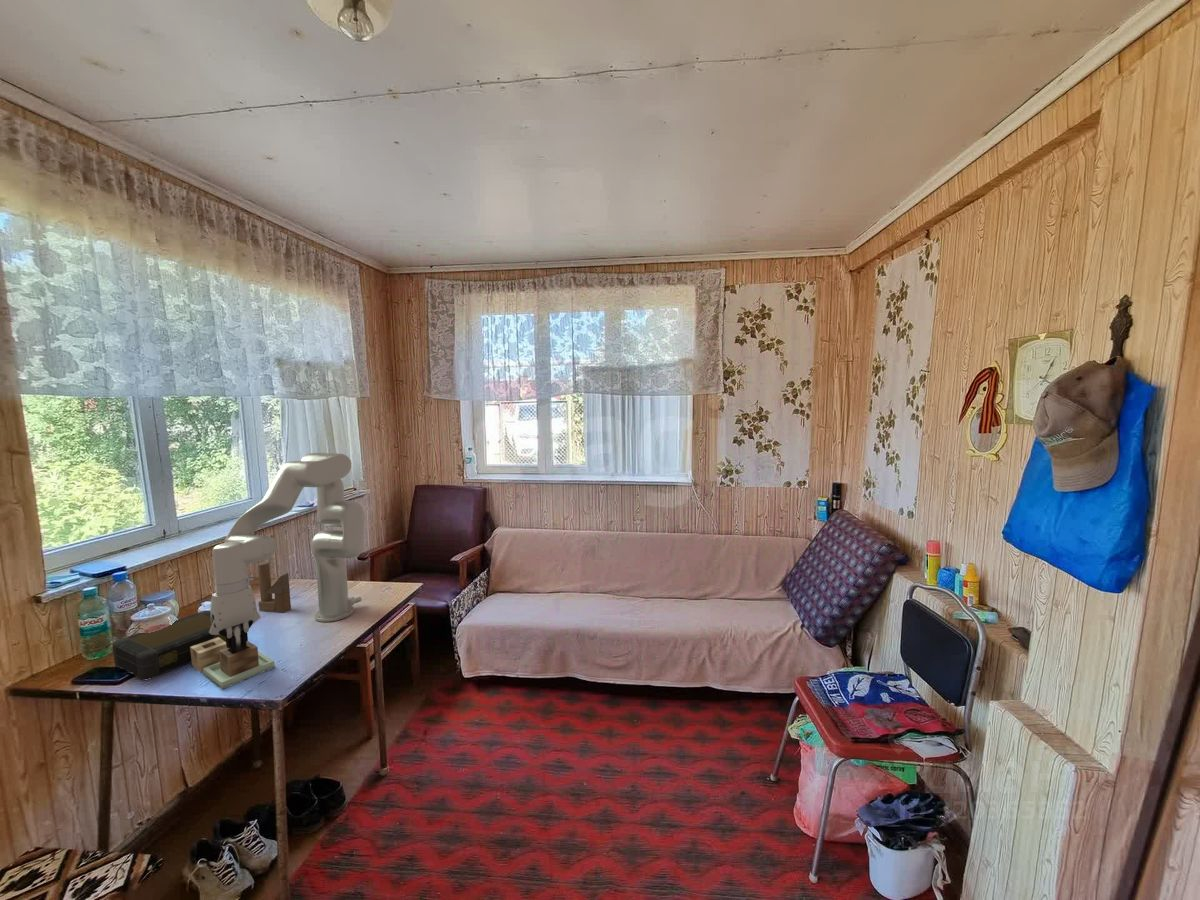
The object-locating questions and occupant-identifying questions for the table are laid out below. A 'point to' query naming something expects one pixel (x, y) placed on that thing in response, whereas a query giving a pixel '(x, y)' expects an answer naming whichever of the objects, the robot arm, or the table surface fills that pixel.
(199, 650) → the oak block
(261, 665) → the tray
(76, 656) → the table surface
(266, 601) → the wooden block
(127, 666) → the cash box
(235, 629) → the pin gauge
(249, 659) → the walnut block
